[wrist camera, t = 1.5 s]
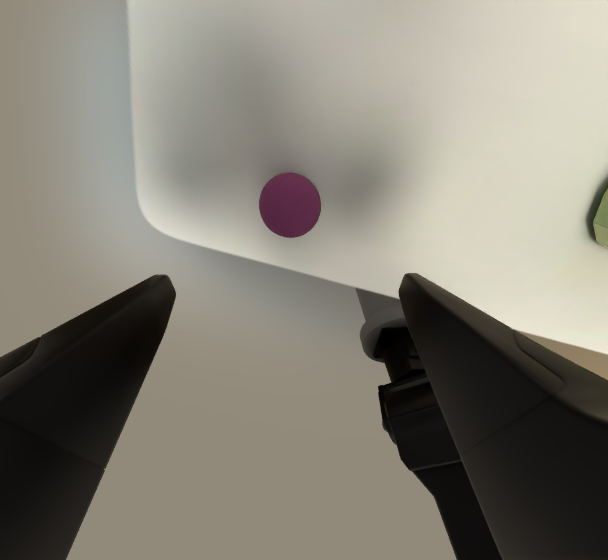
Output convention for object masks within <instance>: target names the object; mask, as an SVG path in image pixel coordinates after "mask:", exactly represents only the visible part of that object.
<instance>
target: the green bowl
mask: <svg viewBox="0 0 608 560" xmlns="http://www.w3.org/2000/svg"><path fill="white" fill-rule="evenodd" d="M593 226H594V231H595V236H596V241H597V242H598V243H599V244H601V245H602V246H604V247H606V248H608V189H607V190H606V192H605V193H604V196H603V198H602V201H601V203H600V206H599V208H598V211H597V213H596V216H595V218H594V221H593Z"/></svg>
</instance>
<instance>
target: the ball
mask: <svg viewBox="0 0 608 560" xmlns="http://www.w3.org/2000/svg"><path fill="white" fill-rule="evenodd" d="M259 209H260V214H261V217H262V219H263V221H264V223H265V224H266V226H267V227H268V228H269V229H270V230H271V231H272V232H274V233H276V234H277V235H280V236H283V237H288V238H293V237H299V236H302V235H304V234H306V233H307V232H309V231H310V230H311V229H312V228H313V227H314V225H315V224H316V222H317V221H318V218H319V215H320V211H321V201H320V196H319V194H318V191H317V189H316V188H315V186H314V185H313V183H312V182H311V181H309V180H308V179H307V178H305V177H304V176H302V175H299V174H295V173H284V174H280V175H277V176H275V177H274V178H272V179H271V180H270V181H269V182H268V183H267V184H266V185H265V187H264V188H263V190H262V192H261V196H260V200H259Z"/></svg>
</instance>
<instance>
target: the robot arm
mask: <svg viewBox="0 0 608 560" xmlns="http://www.w3.org/2000/svg"><path fill="white" fill-rule="evenodd" d="M175 297H176V292H175V289H174V287H173V285H172V282H171V280H170V278H169V277H168V276H167V275H154V276H152V277H150V278H148V279H146V280H144V281H142V282H140V283H139V284H137V285H135V286H133V287H131V288H129V289H127V290H126V291H124V292H122V293H120V294H118V295H116V296H114V297H112V298H111V299H109V300H107V301H105V302H103V303H101V304H100V305H97V306H96V307H94V308H92V309H90V310H88V311H86V312H84V313H83V314H81V315H79V316H77V317H75V318H74V319H71V320H69V321H68V322H66V323H64V324H62V325H60V326H58V327H57V328H55V329H53V330H51V331H49V332H47V333H45V334H43V335H42V336H41V337H38V338H36V339H34V340H32V341H30V342H29V343H26V344H25V345H23V346H21V347H19V348H17V349H15V350H13V351H11V352H9V353H8V354H6V355H4V356H2V357H0V560H66V558H67V556H68V554H69V551H70V549H71V547H72V544H73V542H74V540H75V538H76V535H77V533H78V531H79V528H80V526H81V524H82V521H83V519H84V517H85V515H86V512H87V510H88V508H89V506H90V503H91V501H92V499H93V496H94V494H95V492H96V490H97V487H98V485H99V483H100V480H101V478H102V476H103V474H104V471H105V470H104V469H105V468H106V466H107V464H108V462H109V459H110V457H111V455H112V452H113V450H114V448H115V446H116V443H117V441H118V439H119V436H120V434H121V432H122V430H123V427H124V425H125V423H126V420H127V418H128V416H129V414H130V411H131V409H132V407H133V404H134V402H135V399H136V397H137V395H138V393H139V390H140V388H141V386H142V384H143V382H144V379H145V377H146V374H147V372H148V370H149V367H150V366H151V363H152V361H153V359H154V356H155V354H156V352H157V349H158V347H159V345H160V343H161V340H162V338H163V336H164V333H165V330H166V327H167V324H168V321H169V318H170V314H171V311H172V308H173V304H174V301H175ZM399 298H400V301H401V305H402V309H403V312H404V316H405V319H406V323H407V326H408V327H397V328H382V329H381V331H380V335H379V338H378V341H377V344H376V347H375V350H374V353H373V356H374V358H376V359H379V358H383V359H384V362H385V365H386V368H387V371H388V374H389V377H390V380H391V383H389V384H386V385H380V386H378V390H379V393H378V395H379V401H380V406H381V414H382V420H383V421H382V425H383V428H384V430H385V431H387V432H388V433H389V436H390V438H391V439H392V441H393V443H394V444H395V445H397V447H398V451H399V455H400V457H401V460H402V461H403V463H404V464H405V465H406V467H407V468H408V469H409V470H410V471H412V472H413V473H414V474H415V475H416V476H417V478H418V479H419V480H420V481H421V482H422V483H423V485H424V486H425V487H426V488H427V489H428V490H429V491H430V493H431V494H432V495H433V496H434V498H435V501H436V503H437V506H438V509H439V511H440V514H441V517H442V520H443V522H444V525H445V528H446V531H447V533H448V536H449V539H450V542H451V545H452V547H453V550H454V553H455V556H456V559H457V560H608V380H606V379H604V378H602V377H600V376H599V375H597V374H595V373H593V372H591V371H589V370H587V369H585V368H583V367H581V366H579V365H577V364H575V363H574V362H572V361H570V360H568V359H566V358H564V357H562V356H560V355H558V354H556V353H554V352H553V351H551V350H549V349H547V348H545V347H544V346H542V345H540V344H538V343H536V342H534V341H533V340H531V339H529V338H528V337H526V336H524V335H522V334H520V333H519V332H517V331H516V330H512V329H511V328H510V327H509V326H507V325H505V324H503V323H502V322H500V321H498V320H496V319H495V318H493V317H491V316H490V315H488V314H486V313H484V312H483V311H481V310H479V309H477V308H476V307H474V306H472V305H471V304H469V303H467V302H465V301H464V300H462V299H460V298H459V297H457V296H455V295H453V294H452V293H450V292H448V291H446V290H445V289H443V288H441V287H440V286H438V285H436V284H434V283H433V282H431V281H429V280H427V279H426V278H424V277H422V276H421V275H419V274H417V273H407V274H405V275H404V277H403V280H402V282H401V285H400V288H399Z"/></svg>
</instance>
